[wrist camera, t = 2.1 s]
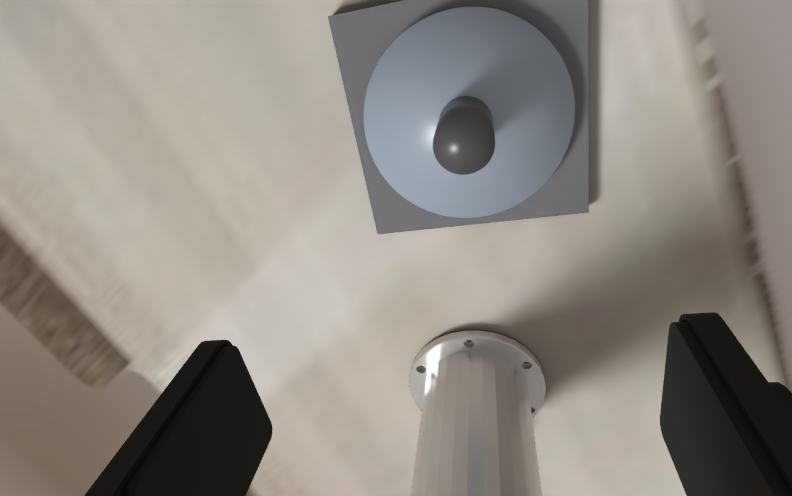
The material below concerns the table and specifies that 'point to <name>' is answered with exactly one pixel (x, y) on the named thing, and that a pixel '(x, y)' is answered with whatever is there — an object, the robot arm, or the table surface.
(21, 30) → the table surface
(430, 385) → the robot arm
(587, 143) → the mat
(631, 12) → the table surface
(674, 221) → the table surface
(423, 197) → the lid
